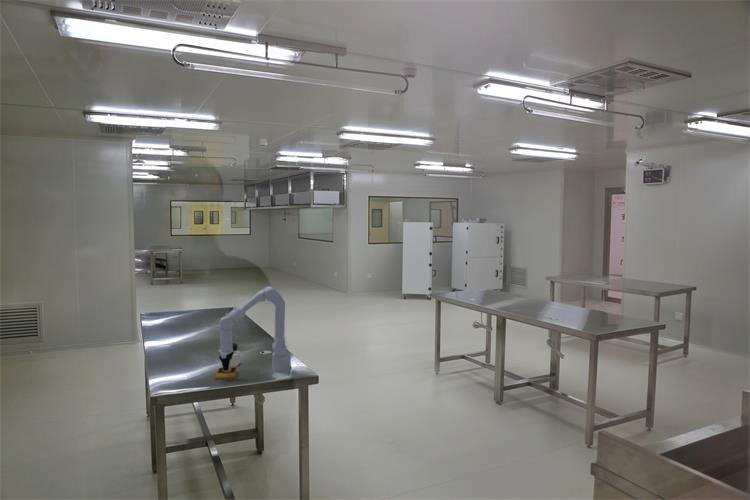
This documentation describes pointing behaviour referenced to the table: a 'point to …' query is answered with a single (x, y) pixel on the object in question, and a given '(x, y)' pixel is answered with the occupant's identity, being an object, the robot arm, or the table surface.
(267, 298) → the robot arm
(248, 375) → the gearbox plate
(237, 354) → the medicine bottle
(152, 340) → the table surface
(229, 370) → the canister
